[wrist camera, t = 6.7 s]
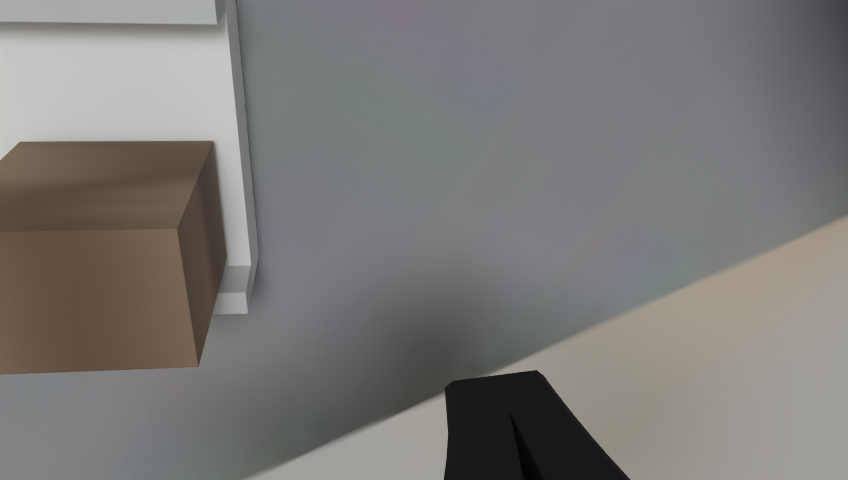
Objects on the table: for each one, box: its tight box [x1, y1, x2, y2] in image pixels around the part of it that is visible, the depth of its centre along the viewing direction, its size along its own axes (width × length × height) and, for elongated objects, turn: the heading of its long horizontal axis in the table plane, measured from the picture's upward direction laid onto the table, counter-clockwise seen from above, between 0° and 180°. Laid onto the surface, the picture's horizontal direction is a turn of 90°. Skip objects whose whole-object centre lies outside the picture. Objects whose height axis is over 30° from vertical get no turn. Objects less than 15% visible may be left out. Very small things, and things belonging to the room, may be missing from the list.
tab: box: [0, 141, 227, 375], centre depth 14 cm, size 4×3×4 cm
